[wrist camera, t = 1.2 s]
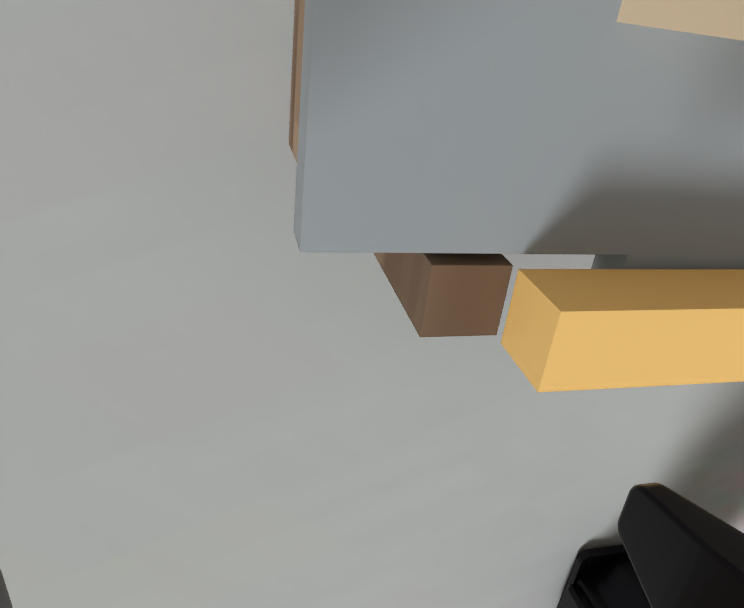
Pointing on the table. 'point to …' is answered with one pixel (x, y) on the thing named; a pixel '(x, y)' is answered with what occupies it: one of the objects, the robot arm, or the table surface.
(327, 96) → the lid
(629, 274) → the yellow wooden bar
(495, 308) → the brown wooden box
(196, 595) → the table surface
